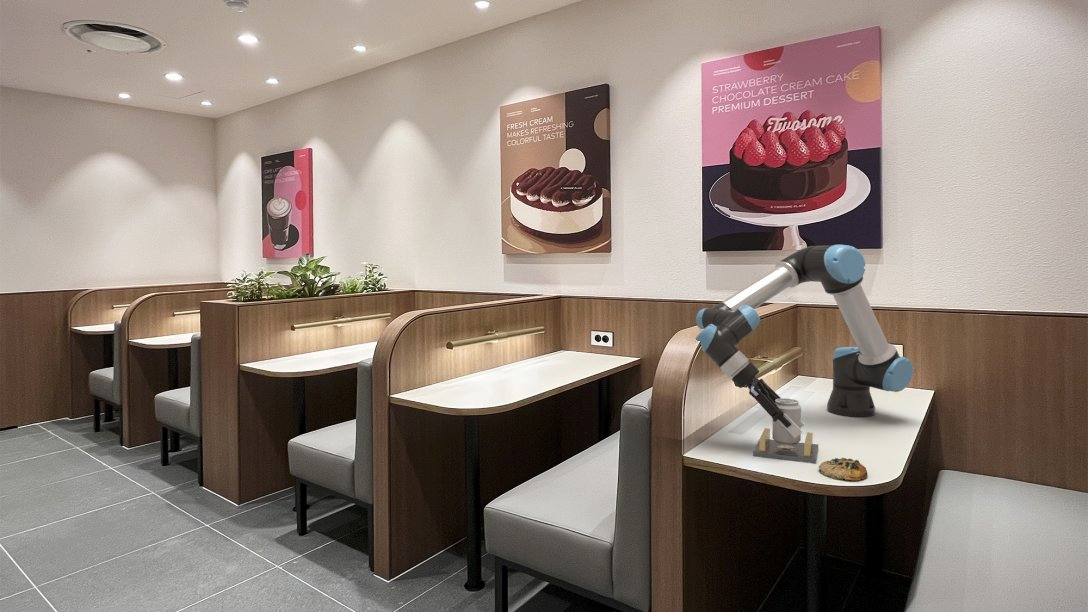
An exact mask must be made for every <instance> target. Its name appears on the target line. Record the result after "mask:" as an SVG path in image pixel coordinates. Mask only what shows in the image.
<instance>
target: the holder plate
mask: <svg viewBox="0 0 1088 612" xmlns="http://www.w3.org/2000/svg"><path fill="white" fill-rule="evenodd" d="M813 435H814V434H813V432H808V431H807V432H806V435H805V439H804V442H801V441H800V442H798V443H797V444H795V445H783V444H779V443H777V442H775V440H774V439H773V438H771V428H767V427H764V429H763V431H762V433H761V435H760V437H759V440H758V441H757V443H756V445H755V447H754V450H753V452H752V453H753V455H752V456H753V457H761V458H766V457H767V458H769V459H775V458H777V459H776V460H783V459H784V461H791V460H794V462H800V461H803V462H802V463H808V462H813V463H812V464H817V459H818V454H817V453H819V444H818V443H817V444H816V443H814V441H813V440H814V436H813ZM767 458H766V459H767Z"/></svg>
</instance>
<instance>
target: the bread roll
mask: <svg viewBox="0 0 1088 612" xmlns="http://www.w3.org/2000/svg"><path fill="white" fill-rule="evenodd" d="M860 462H861V461H859V460H858V459H856V460H854V459H853V458H850V457H849V458H846V457H841V458H838V457H835V458H831V460H826V461H823V462H821V463H820V464H819V465H818V469H819V470H821V473H822V474H821V473H820V474H821V475H823V474H824V475H823V476H825V475H827V476H829V477H828V478H830V477H833V478H832V479H834V478H837V479H836V480H839V479H842V480H843V479H845V480H844V481H848V480H854V481H853V482H856V481H855V480H860V481H862V480H861V479H863V480H865V479H866V478H867V477H868V471H867V467H865V465H863V464H862V463H860ZM827 476H826V477H827ZM864 478H865V479H864Z"/></svg>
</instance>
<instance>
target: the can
mask: <svg viewBox="0 0 1088 612" xmlns="http://www.w3.org/2000/svg"><path fill="white" fill-rule="evenodd" d="M775 401H776V402H775V404H776V405H777V406H778V408H779V409H780V410H781V411H782V412H783V414H786V415H787V416H788V417H789V418H790V419H791V420H792V421H793V422H794V423H795V424H796V425H797V426H798V427H799V428H800V429H801V430H802V427H801V421H802V405H800V404H799V400H797V399H794V398H785V397H784V398H781V399H776V400H775ZM771 430H772V435H771V436H772V438H771V439H772V440H775V442H777V443H779V444H783V445H795V444H797V443H798V442H800V443H801V441H802V439H801V437H802V435H801V434H802V433H801V434H800V435H798V436H797V437H796V438H794V437H793V436H792V435H791V434H790V433H789V432H788V431H787V430H786V429H785V428H784V427H783V425H782V424H781V423H780V422H779V421H778V420H777V421H775V422H774V421H773V420H772V429H771Z"/></svg>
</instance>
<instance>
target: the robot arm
mask: <svg viewBox="0 0 1088 612" xmlns="http://www.w3.org/2000/svg"><path fill="white" fill-rule="evenodd" d="M865 267H866V261H865V258H864V255H863V254H862V252H861V251H860V250H859V249H858V248H856V247H854V246H853V245H848V244H847V245H846V244H833V245H811V246H807V247H803V248H801V249H799V250H797V251H795V252H794V253H791V254H790V255H787V256H786V257H785V258H783V259H781V260H780V261H778V262H777V263H776V264H775V266H774V268H773V269H771V270H770V271H769V272H767V273H765V274H764V275H762V276H760V277H759V278H757V279H756V280H754V281H753V282H751V283H750V284H747V285H746V286H745V287H743V288H742V289H740V290H739V291H737V292H735V293H734V294H733V295H731V296H729V297H727V298H726V299H724V300H722V301H721V302H720V303H718V304H716V305H715V306H713V307H706V308H701V309H700V310H699V311H698V312H697V313H696V317H695V324H696V325H697V328H699V330H701V329H704V330H701V331H700V332H699V333H698V334H697V335H696V337H695V339H696V340H697V341H700V342H701V346H702V347H701V348H702V349H701V348H700V349H701V350H702V352H704V354H705V355H706V356H708V357H709V359H711V361H713V362H714V363H715V364H716V365H717V367H719V369H720V370H721V374H725V375H726V376H727V377H729V378H731V377H732V378H731V380H732V382H733V383H734V384H735V385H736V387H738V388H739V389H742V388H743V387H745V386H746V387H747V388H748V389H749V391H748V394H749V395H750V396H751V397H752V398H754V399H755V401H756V402H757V403H758V404H759V405H760V406H761V407H762V408H763V409H764V411H765V412H766V413H767V414H768V415H769V416H770V418H771V419H772V422H773V421H774V422H775V421H777V420H778V421H779V422H780V423H781V424H782V425H783V427H784V428H785V429H786V430H787V431H788V432H789V433H790V434H791V435H792V436H793V437H794V438H796V437H797V436H798V435H800V434H802V433H803V429H802V427H804V426H805V423H804V422H803V421H802V420H801V429H800V428H799V427H798V426H797V425H796V424H795V423H794V422H793V421H792V420H791V419H790V418H789V417H788V416H787V415H786V414H783V412H782V411H781V410H780V409H779V408H778V406H777V405H776V404H775V402H776V401H775V400H776V399H781V396H779V394H777V392H775V390H773V388H771V387H770V386H769V385H768V384H767V383H766V382H765V380H763V378H759V379H758V377H756V376H757V375H758V374H759V373H760V370H759V369H758V368H757V367H756V366H755V365H754V364H753V363H752V362H749V361H750V360H749V358H747V357H746V356H745V354H744V353H743V352H742V351H741V350H739V348H737V347H736V346H737V345H738V344H740V342H741V341H743V340H744V339H745V338H746V337H747V336H748V335H750V334H751V333H752V332H753V331H754V330H755V329H756V328H757V327H758V326H759V325H760V323H761V317H760V315H759V313H758V312H757V310H756V309H757V308H758V307H760V306H761V305H763V304H764V303H766V302H767V301H769V300H771V299H772V298H773V297H776V296H777V295H778V294H780V293H781V292H783V291H785V290H786V289H788V288H790V289H792V288H795V287H796V286H799V285H801V284H805V283H808V282H816V283H817V282H818V283H820V284H821V285H822V287H823V289H824V291H825V293H827V294H829V295H830V296H831V295H832V296H833V298H834V300H835V302H836V304H837V306H838V309H839V311H840V313H841V315H842V317H843V319H844V321H845V323H846V326H847V327H848V330H849V332H850V335H851V336H852V337H853V340H854V342H855V344H856V346H846V347H845V346H843V347H841V346H840V347H837V348H835V349H834V350H833V358H832V390H831V392H830V395H829V398H828V401H827V404H826V405H827V406H826V410H827V411H828V412H829V413H832V414H836V415H841V416H847V417H864V418H865V417H871V416H874V415H875V414H876V405H875V404H874V400H873V397H872V394H871V390H870V389H871V388H872V389H873V388H874V389H877V390H881V391H884V392H885V391H886V392H894V393H898V392H902V391H903V390H904V389H905V388H907V387H908V386H909V384H910V383H911V381H912V377H913V374H914V365H913V363H912V362H911V360H910V359H909V358H906V357H905V356H900V354H899V353H898V350H897V348H896V346H895V345H894V344H892V343H888V341H887V339H886V337H885V334H884V332H883V330H882V327H881V325H880V324H879V321H878V319H877V318H876V315H875V312H874V311H873V309H872V306H871V304H870V302H869V299H868V298H867V295H866V293H865V290H864V289H863V287H862V285H861V284H862V283H863V281H864V274H865V270H866V269H865Z"/></svg>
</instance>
